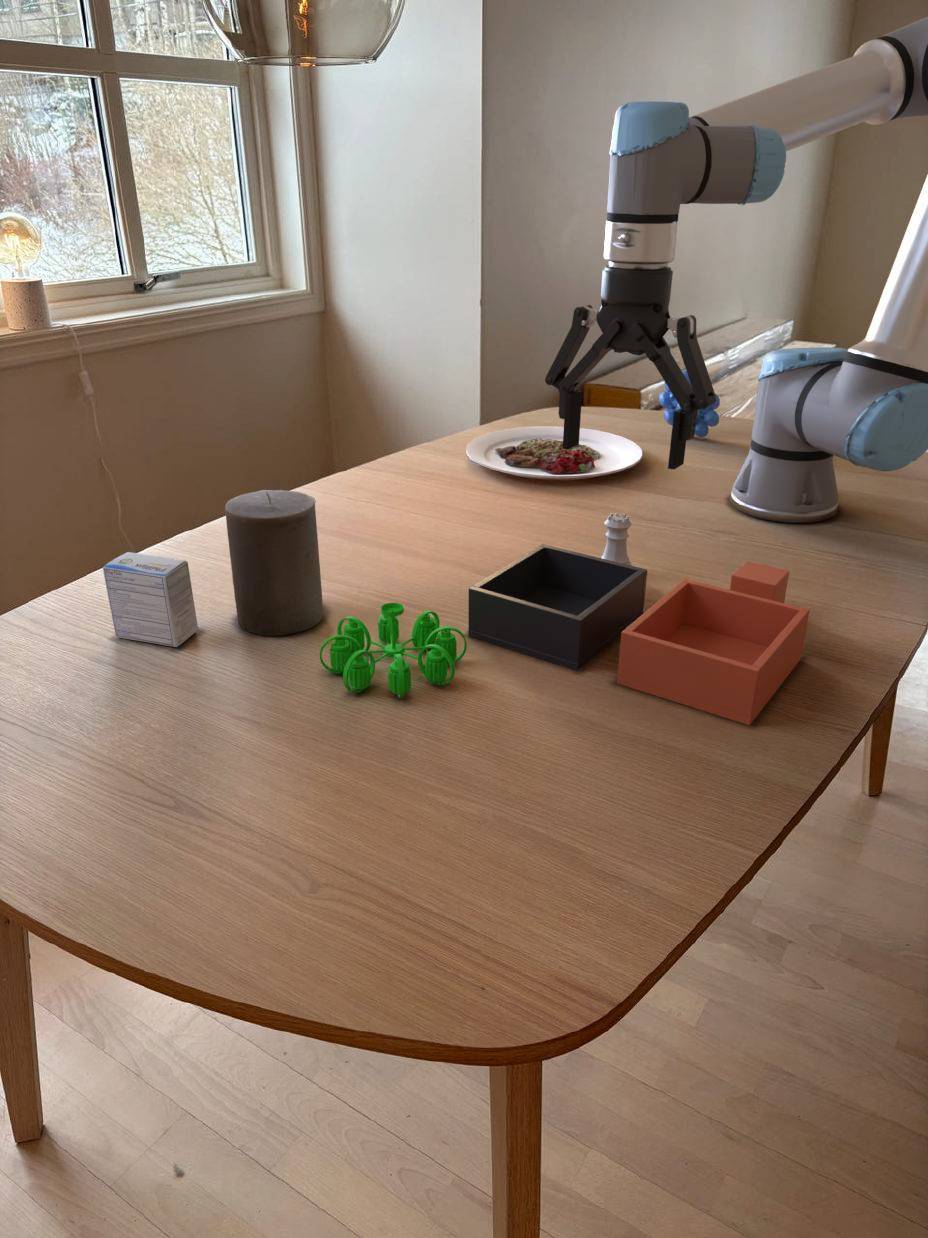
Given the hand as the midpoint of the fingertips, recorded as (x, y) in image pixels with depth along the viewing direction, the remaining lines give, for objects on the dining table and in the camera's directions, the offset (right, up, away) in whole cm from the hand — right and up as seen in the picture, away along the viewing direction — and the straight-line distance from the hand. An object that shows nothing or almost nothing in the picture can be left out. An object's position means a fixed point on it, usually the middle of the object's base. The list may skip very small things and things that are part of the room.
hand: (621, 456), depth 112 cm
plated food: (-3, +8, +52) cm, 52 cm away
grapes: (+22, +14, +64) cm, 69 cm away
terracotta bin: (+7, -24, -15) cm, 29 cm away
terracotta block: (+15, -18, -2) cm, 24 cm away
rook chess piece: (0, -14, +7) cm, 16 cm away
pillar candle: (-39, -19, -3) cm, 44 cm away
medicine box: (-52, -21, -7) cm, 57 cm away
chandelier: (-26, -24, -14) cm, 38 cm away
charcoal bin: (-8, -20, -5) cm, 22 cm away
